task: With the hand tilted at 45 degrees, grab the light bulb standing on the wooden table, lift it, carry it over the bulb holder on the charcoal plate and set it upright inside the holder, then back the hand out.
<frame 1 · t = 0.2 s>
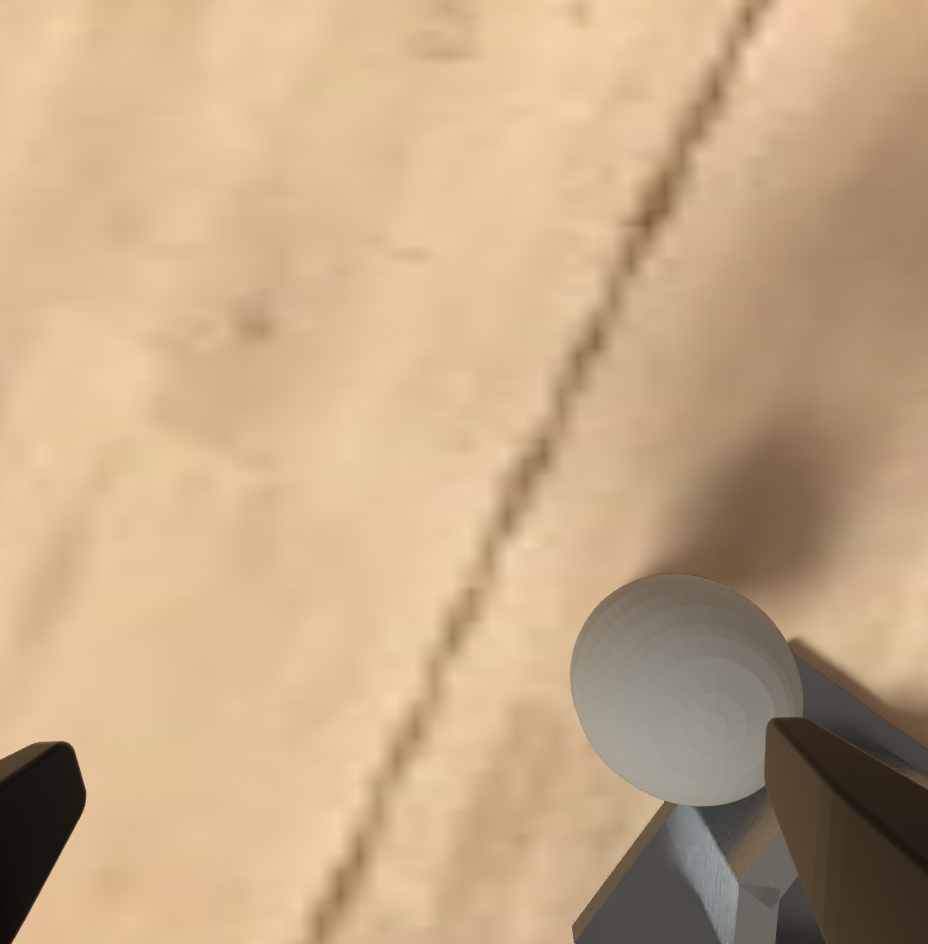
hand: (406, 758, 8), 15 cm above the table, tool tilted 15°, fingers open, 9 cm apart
bulb holder: (830, 869, 22), on the table
light bulb: (625, 618, 23), on the table
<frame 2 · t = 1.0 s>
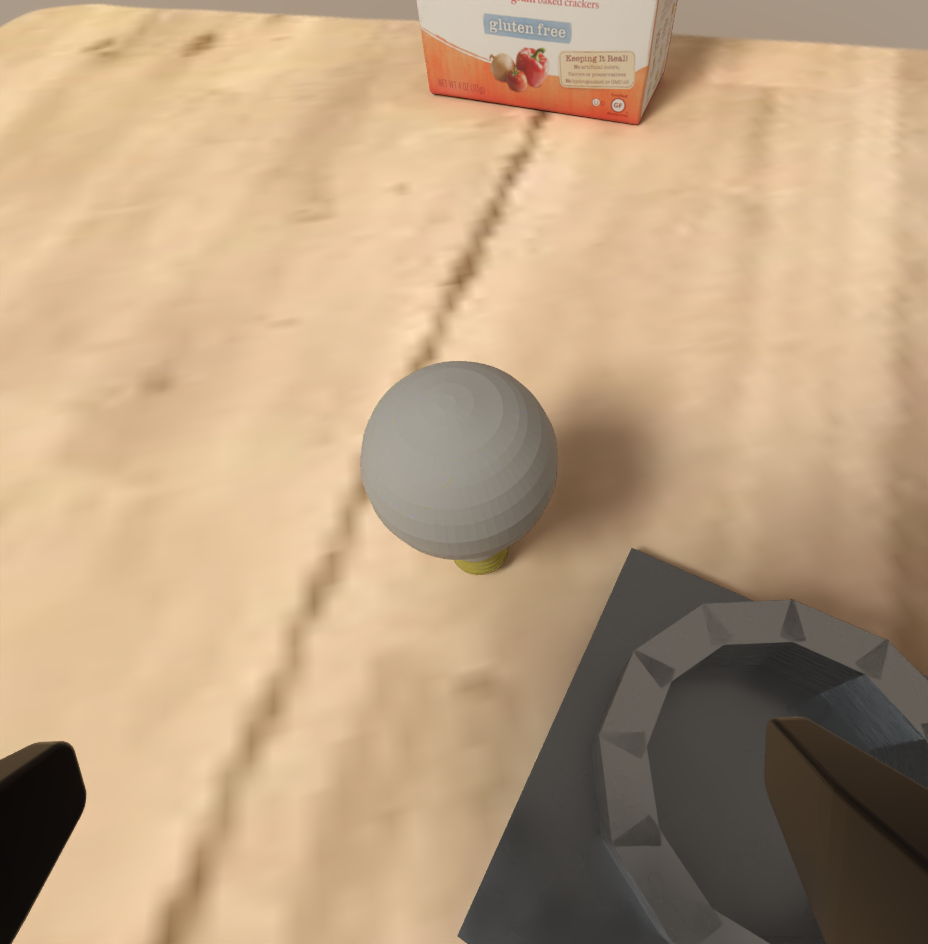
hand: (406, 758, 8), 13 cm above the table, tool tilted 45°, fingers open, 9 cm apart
bulb holder: (748, 788, 18), on the table
light bulb: (480, 557, 23), on the table
cracker box: (544, 92, 39), on the table
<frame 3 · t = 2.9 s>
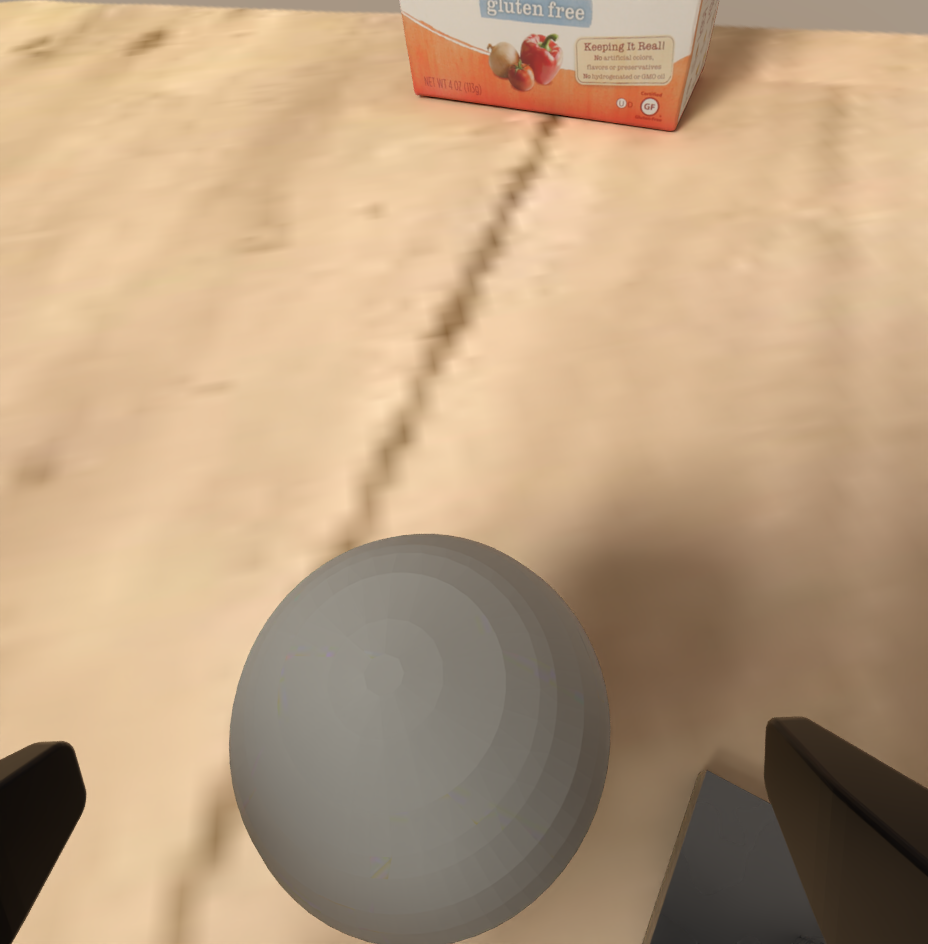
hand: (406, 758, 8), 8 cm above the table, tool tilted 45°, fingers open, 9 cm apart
light bulb: (470, 764, 15), on the table
cracker box: (555, 93, 31), on the table
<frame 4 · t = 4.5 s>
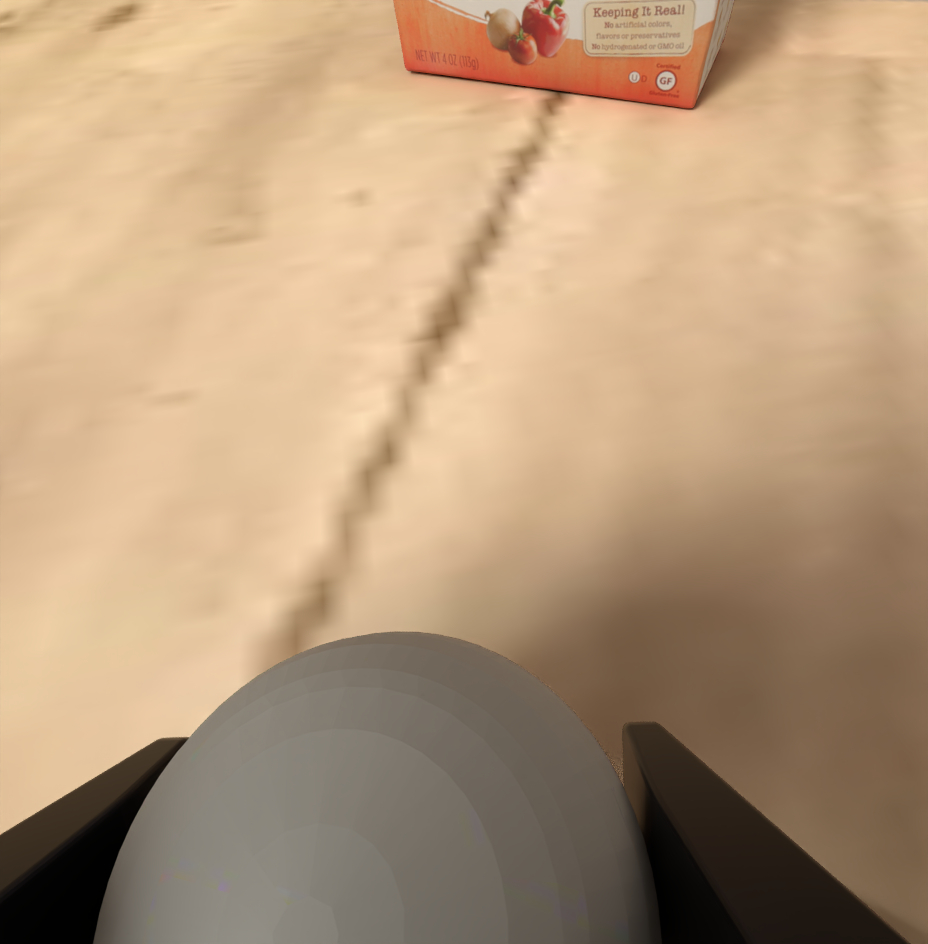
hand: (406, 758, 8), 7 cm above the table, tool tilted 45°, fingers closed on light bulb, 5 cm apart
light bulb: (464, 862, 13), on the table, touching gripper
cracker box: (559, 68, 28), on the table
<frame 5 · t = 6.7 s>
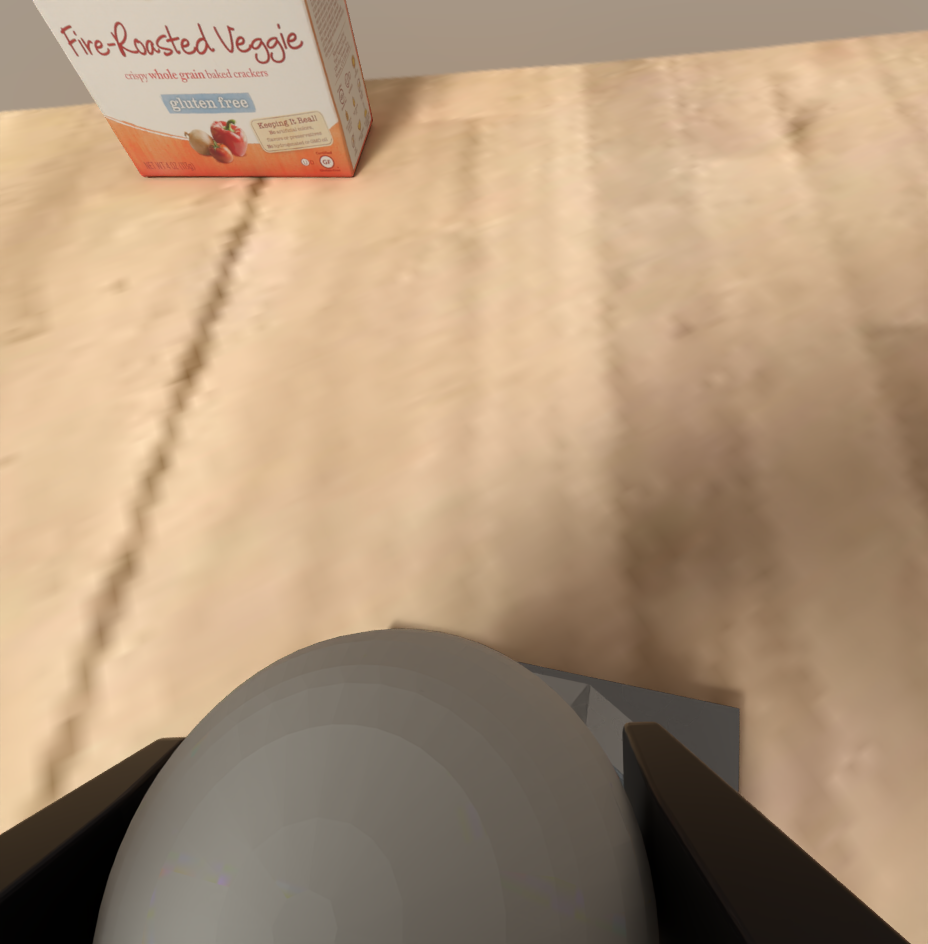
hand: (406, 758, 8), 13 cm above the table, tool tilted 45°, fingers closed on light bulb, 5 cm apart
bulb holder: (517, 858, 18), on the table
light bulb: (463, 859, 13), point 6 cm above the table, touching gripper
cracker box: (261, 156, 38), on the table
when the fingers open (9 cm above the table, at t = 9.1 s): light bulb drops 1 cm, resting on bulb holder.
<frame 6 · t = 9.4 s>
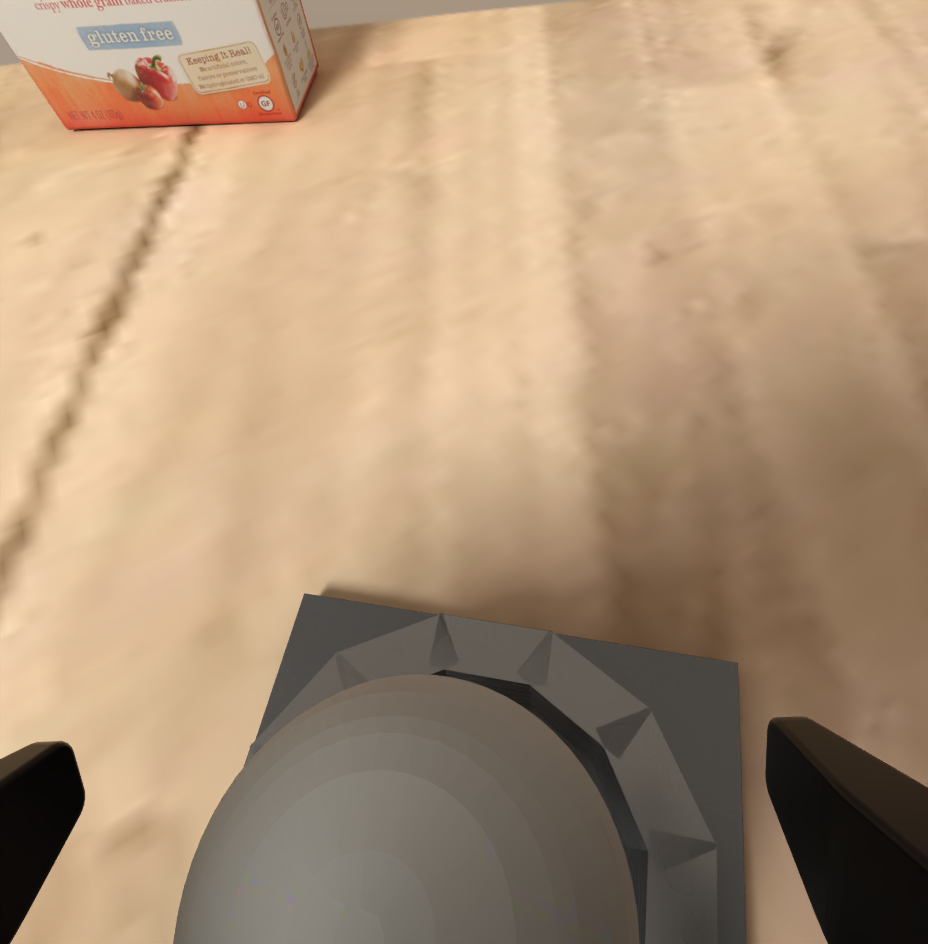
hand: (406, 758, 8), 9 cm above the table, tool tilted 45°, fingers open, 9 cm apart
bulb holder: (472, 857, 15), on the table
light bulb: (466, 867, 14), point 1 cm above the table, touching bulb holder
cracker box: (198, 106, 35), on the table
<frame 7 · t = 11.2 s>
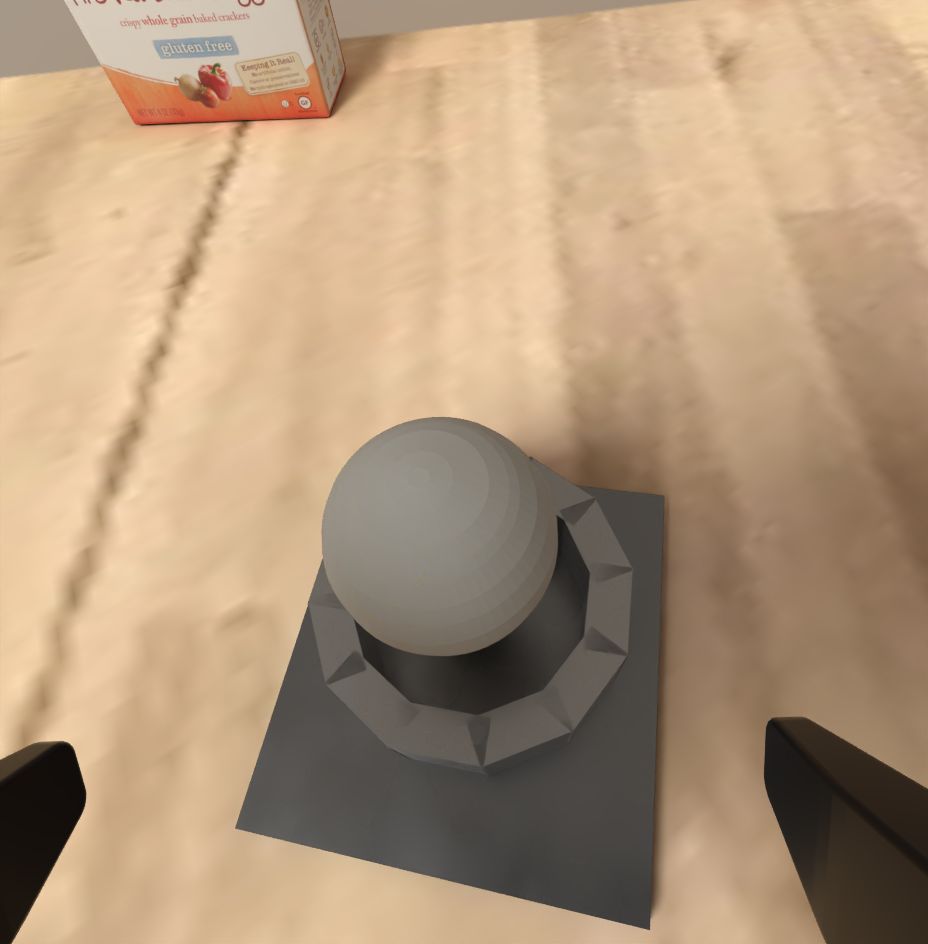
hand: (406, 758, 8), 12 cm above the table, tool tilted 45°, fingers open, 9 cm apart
bulb holder: (478, 622, 21), on the table
light bulb: (474, 622, 21), point 1 cm above the table, touching bulb holder
cracker box: (244, 105, 41), on the table
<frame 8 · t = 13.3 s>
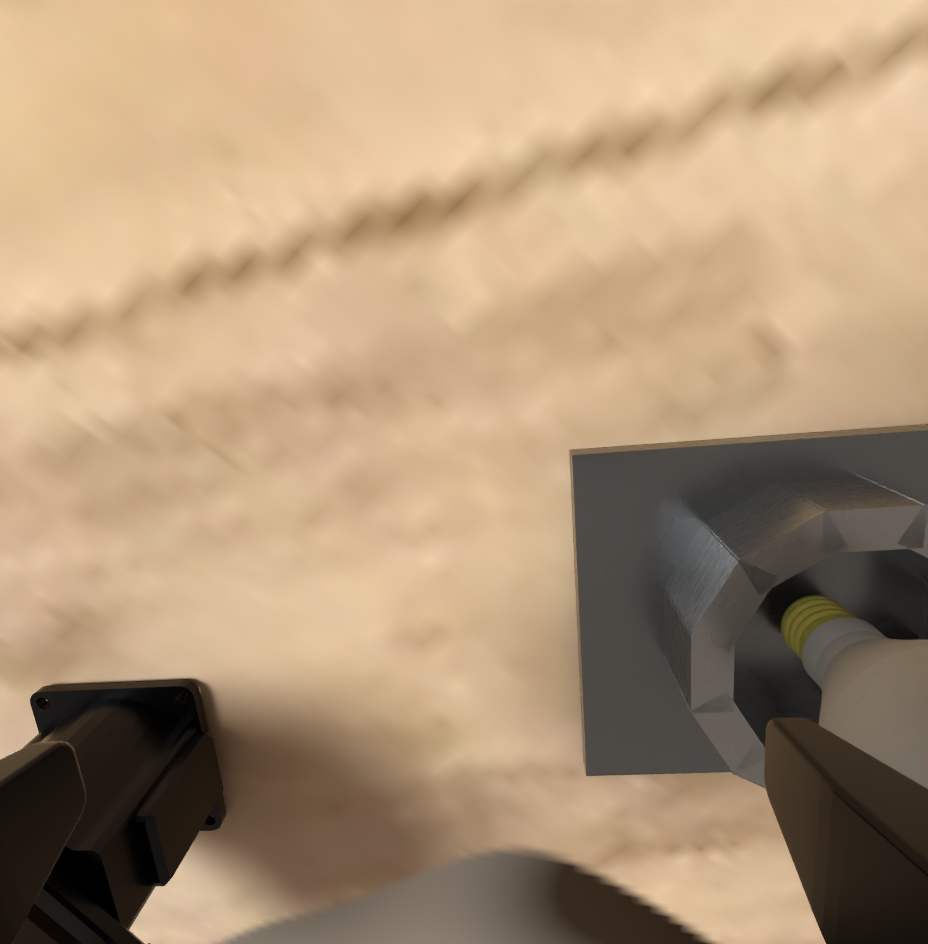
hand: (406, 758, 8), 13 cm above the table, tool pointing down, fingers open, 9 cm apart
bulb holder: (797, 604, 21), on the table
light bulb: (800, 612, 20), point 1 cm above the table, touching bulb holder
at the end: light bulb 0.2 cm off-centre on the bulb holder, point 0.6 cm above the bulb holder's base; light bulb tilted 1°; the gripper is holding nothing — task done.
